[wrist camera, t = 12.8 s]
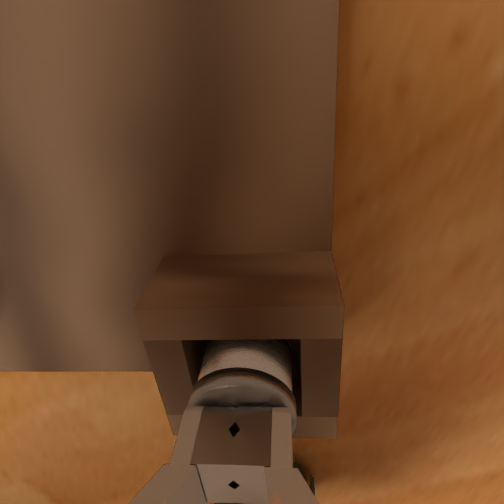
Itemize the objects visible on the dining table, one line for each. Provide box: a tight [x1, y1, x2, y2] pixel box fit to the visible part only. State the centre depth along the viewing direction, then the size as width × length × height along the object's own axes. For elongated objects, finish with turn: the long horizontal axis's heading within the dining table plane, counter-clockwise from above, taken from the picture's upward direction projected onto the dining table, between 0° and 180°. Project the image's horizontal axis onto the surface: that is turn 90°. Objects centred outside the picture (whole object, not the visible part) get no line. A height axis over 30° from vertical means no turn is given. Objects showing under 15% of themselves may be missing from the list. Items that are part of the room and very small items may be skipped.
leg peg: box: [188, 339, 297, 434], centre depth 12 cm, size 3×3×4 cm
